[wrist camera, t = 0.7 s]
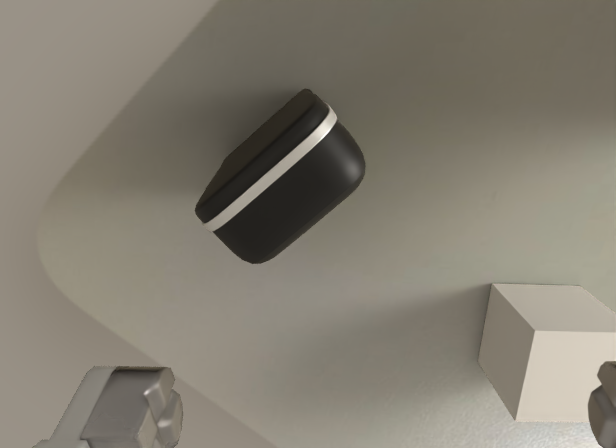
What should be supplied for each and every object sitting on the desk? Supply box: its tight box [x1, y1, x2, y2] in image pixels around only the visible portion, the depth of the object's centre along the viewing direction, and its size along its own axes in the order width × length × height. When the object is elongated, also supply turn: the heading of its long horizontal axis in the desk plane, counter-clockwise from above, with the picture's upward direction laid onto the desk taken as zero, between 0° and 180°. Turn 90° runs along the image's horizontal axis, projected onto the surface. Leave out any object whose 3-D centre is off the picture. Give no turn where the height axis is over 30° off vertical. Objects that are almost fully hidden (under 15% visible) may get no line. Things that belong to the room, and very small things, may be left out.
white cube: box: [478, 283, 616, 422], centre depth 31 cm, size 6×6×6 cm
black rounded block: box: [195, 89, 365, 264], centre depth 24 cm, size 7×4×11 cm, turn 131°
